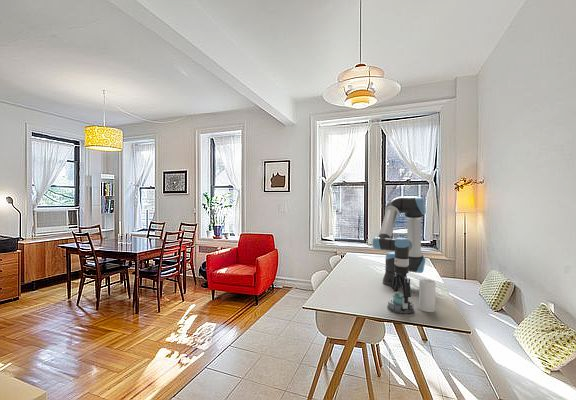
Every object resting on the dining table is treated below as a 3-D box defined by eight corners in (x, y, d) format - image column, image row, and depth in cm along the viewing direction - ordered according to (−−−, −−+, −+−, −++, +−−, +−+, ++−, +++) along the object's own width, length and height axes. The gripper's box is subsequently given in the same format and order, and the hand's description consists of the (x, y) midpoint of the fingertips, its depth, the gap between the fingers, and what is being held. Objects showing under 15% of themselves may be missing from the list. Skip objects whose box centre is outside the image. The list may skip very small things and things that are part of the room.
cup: (416, 306, 166) (416, 279, 166) (429, 306, 167) (430, 279, 167) (423, 312, 158) (424, 283, 158) (438, 312, 159) (438, 283, 158)
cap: (402, 303, 167) (402, 293, 166) (411, 308, 159) (411, 298, 159) (390, 304, 165) (390, 293, 165) (398, 309, 157) (399, 298, 157)
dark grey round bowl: (404, 304, 170) (405, 297, 170) (419, 313, 156) (419, 306, 156) (382, 305, 168) (383, 298, 167) (395, 314, 154) (395, 307, 154)
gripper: (386, 261, 171) (385, 299, 171) (405, 270, 151) (405, 313, 151) (397, 261, 172) (396, 298, 173) (418, 269, 152) (417, 312, 152)
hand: (400, 305), depth 162 cm, fingers closed on cap, 8 cm apart
